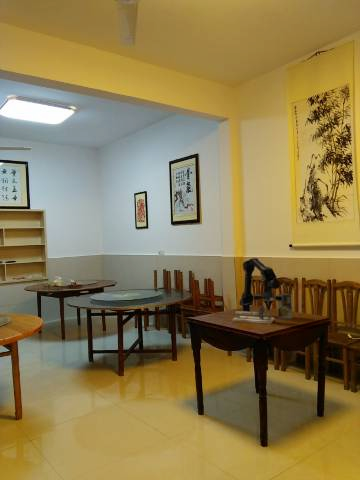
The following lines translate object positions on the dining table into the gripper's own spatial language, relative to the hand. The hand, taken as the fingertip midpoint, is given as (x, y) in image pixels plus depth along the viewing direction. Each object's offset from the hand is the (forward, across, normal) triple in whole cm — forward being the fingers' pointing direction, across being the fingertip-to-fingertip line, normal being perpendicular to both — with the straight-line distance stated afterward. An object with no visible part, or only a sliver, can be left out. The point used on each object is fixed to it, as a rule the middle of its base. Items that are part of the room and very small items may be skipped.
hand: (268, 310), depth 261 cm
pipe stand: (+7, -11, 0) cm, 13 cm away
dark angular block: (+5, -5, 0) cm, 7 cm away
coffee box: (+8, +8, +15) cm, 19 cm away
